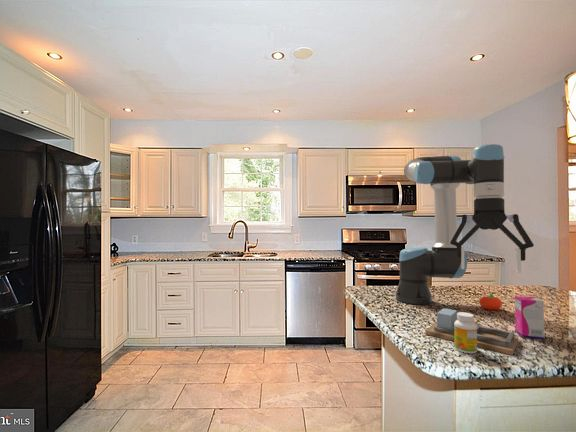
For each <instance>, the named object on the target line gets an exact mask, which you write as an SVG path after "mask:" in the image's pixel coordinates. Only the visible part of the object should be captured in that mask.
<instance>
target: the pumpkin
mask: <svg viewBox="0 0 576 432" xmlns="http://www.w3.org/2000/svg"><path fill="white" fill-rule="evenodd" d="M478 301H479V305H480V306H481V307H482V308H484V309H486V310H488V311H497V310H499V309H502V306H503V302H502V300H501V299H500V298H499V297H497V296H496V297H495V296H494V294H493V293H492V292H491V293H489V296H482V297H480V299H479V300H478Z"/></svg>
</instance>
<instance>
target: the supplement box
mask: <svg viewBox="0 0 576 432" xmlns="http://www.w3.org/2000/svg"><path fill="white" fill-rule="evenodd" d="M544 303H545V302H544V300H542V299H540V298H538V297H536V296H526V295H525V296H523V295H522V296H521V295H514V311H515V312H514V314H515V315H514V317H515V318H514V320H515V332H517V334H519V335H520V336H521V337H522V338H527V339H540V340H545V337H546V336H545V335H546V334H545V309H544V308H545V307H544V306H545V305H544Z"/></svg>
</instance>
